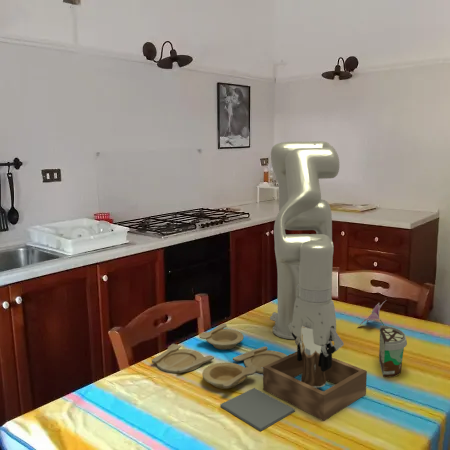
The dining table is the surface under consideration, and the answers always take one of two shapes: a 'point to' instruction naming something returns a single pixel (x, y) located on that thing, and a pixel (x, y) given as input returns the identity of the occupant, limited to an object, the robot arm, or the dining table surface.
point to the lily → (374, 313)
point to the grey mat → (257, 409)
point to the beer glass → (311, 359)
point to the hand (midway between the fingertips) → (313, 363)
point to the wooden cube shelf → (310, 396)
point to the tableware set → (219, 372)
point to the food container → (391, 350)
